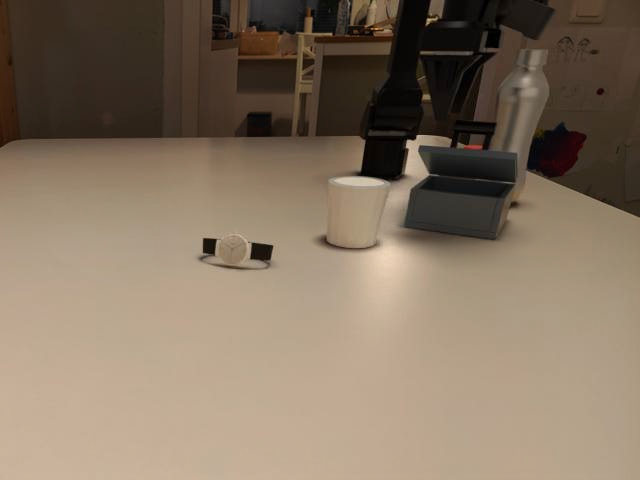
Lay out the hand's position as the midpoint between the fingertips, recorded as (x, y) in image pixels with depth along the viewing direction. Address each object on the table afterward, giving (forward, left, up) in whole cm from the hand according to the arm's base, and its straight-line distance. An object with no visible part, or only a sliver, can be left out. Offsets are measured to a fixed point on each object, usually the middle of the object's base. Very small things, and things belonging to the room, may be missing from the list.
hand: (448, 117), depth 74 cm
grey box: (+3, +1, -13) cm, 13 cm away
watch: (-14, -28, -13) cm, 34 cm away
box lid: (+3, +1, -6) cm, 7 cm away
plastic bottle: (+6, +16, -13) cm, 22 cm away
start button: (-1, +35, -10) cm, 36 cm away
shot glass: (-6, -14, -13) cm, 20 cm away
